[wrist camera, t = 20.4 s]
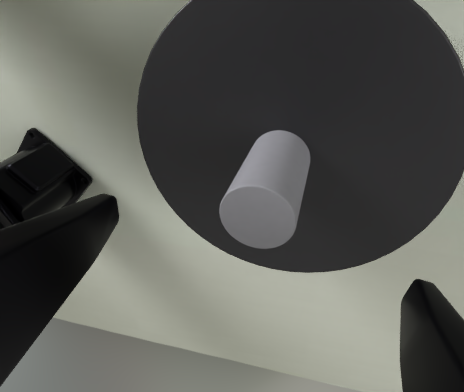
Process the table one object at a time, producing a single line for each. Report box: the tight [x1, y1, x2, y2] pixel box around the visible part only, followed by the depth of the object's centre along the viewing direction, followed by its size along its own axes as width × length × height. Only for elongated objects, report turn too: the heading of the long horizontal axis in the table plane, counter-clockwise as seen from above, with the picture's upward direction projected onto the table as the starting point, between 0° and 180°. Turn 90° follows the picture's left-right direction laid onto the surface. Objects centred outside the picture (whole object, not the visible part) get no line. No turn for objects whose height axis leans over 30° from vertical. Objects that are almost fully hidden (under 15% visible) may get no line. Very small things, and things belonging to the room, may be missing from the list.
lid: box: [137, 0, 464, 273], centre depth 13 cm, size 14×14×6 cm
